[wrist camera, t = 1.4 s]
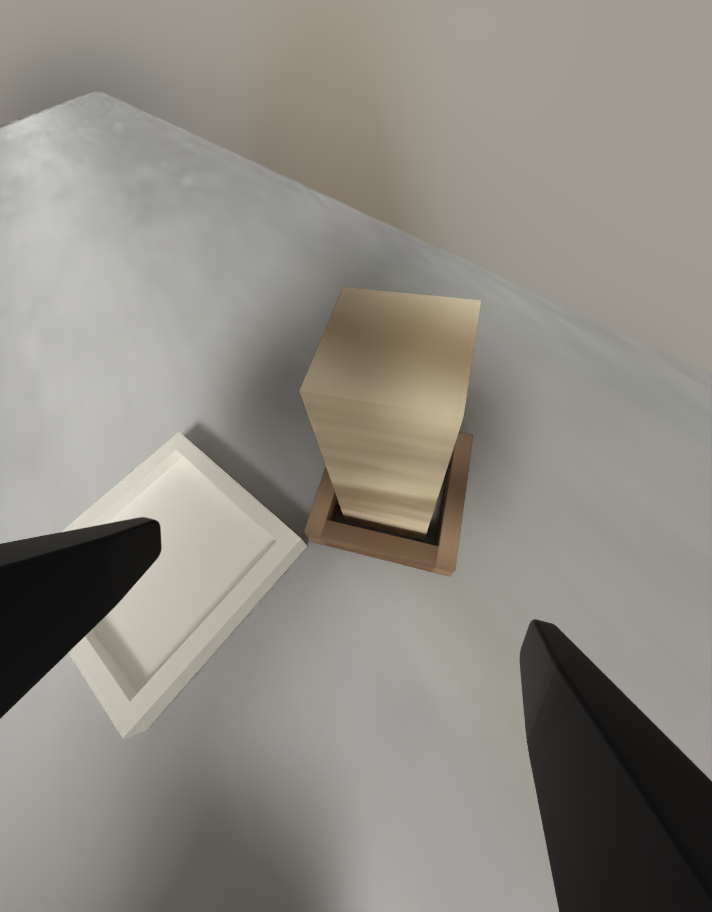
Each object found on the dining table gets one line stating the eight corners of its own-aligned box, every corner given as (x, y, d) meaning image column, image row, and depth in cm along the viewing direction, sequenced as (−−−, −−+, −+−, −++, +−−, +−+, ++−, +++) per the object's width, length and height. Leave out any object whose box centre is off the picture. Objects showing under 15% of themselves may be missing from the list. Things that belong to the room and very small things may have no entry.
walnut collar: (449, 576, 20) (455, 569, 19) (310, 541, 22) (304, 532, 20) (467, 450, 24) (473, 434, 22) (347, 428, 26) (344, 412, 24)
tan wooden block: (424, 539, 21) (463, 417, 10) (345, 521, 22) (299, 390, 11) (437, 467, 24) (481, 300, 12) (364, 453, 25) (343, 286, 13)
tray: (146, 730, 18) (122, 738, 16) (42, 575, 22) (15, 570, 21) (307, 546, 22) (301, 538, 20) (191, 444, 26) (179, 431, 25)
